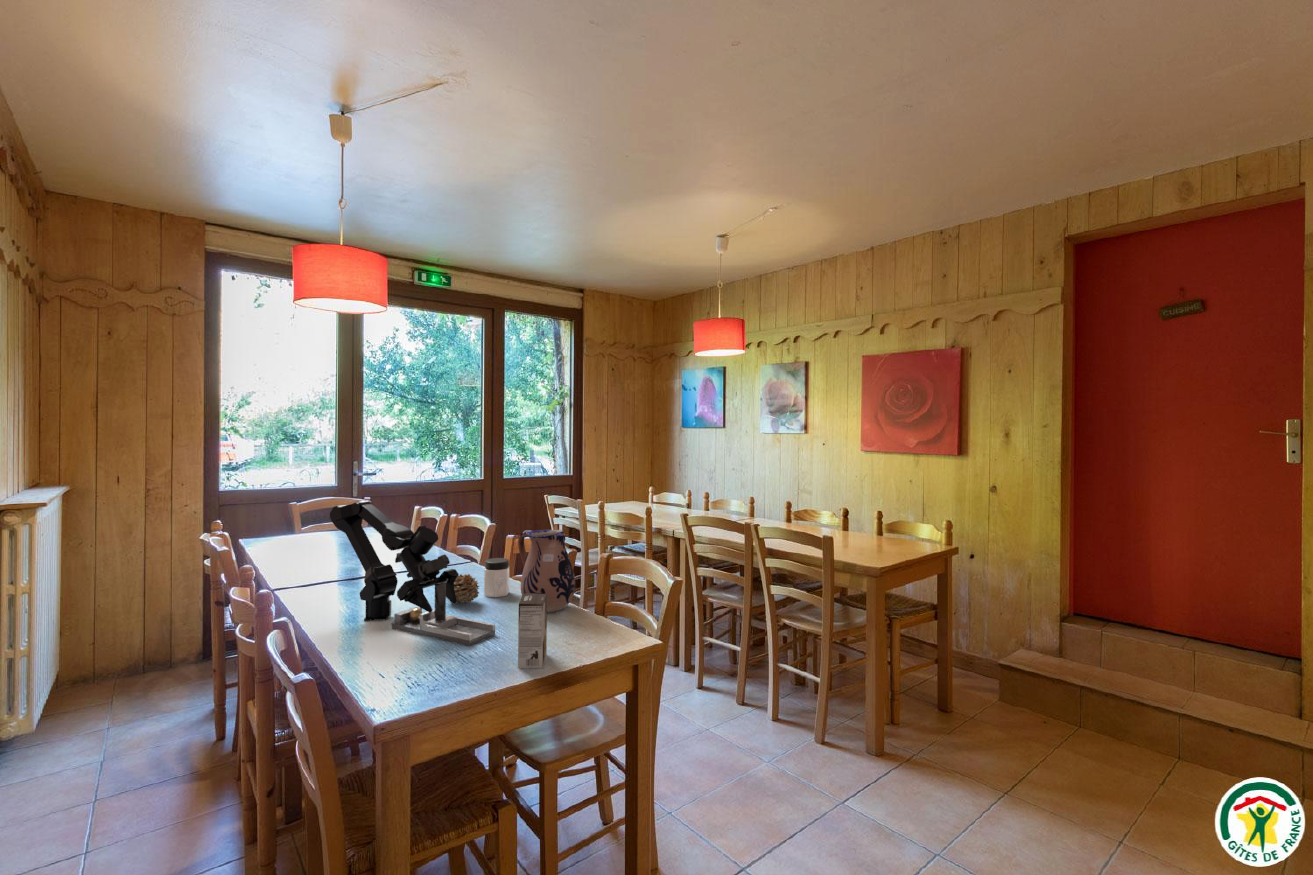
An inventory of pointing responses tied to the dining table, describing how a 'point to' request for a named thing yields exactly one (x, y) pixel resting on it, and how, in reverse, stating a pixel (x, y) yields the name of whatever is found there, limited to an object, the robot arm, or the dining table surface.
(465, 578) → the pine cone
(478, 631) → the base
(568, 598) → the ceramic pitcher
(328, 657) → the dining table surface
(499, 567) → the jar
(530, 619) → the coffee box
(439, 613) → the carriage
